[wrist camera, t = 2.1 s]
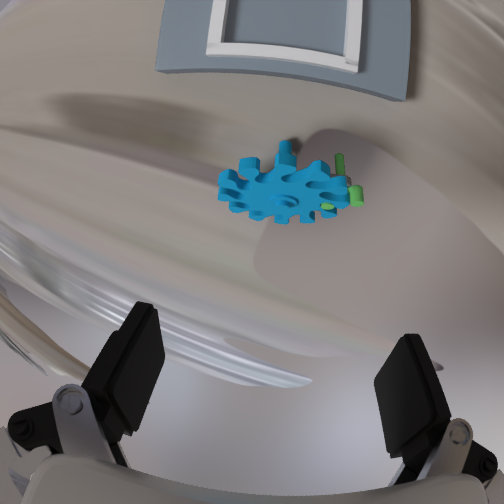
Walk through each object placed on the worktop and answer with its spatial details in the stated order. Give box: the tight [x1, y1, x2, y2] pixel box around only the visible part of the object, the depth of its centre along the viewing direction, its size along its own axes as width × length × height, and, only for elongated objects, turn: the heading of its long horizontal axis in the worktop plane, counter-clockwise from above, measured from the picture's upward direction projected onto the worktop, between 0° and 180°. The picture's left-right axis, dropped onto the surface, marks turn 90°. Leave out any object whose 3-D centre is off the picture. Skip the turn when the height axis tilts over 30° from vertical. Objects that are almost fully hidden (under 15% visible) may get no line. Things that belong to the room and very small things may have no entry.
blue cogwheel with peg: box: [218, 140, 364, 224], centre depth 21 cm, size 11×6×10 cm
